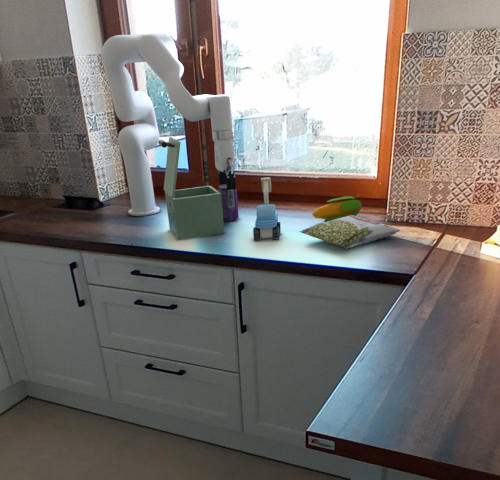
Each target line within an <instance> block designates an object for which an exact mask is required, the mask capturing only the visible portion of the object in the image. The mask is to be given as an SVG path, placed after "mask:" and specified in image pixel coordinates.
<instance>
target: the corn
mask: <svg viewBox="0 0 500 480" xmlns="http://www.w3.org/2000/svg"><path fill="white" fill-rule="evenodd" d="M325 202H326V203H327V204H324V205H322V206H319V207H318V208H316V209H315V210H314V211H313V212H312V214H311V215H312V217H314V218H315V219H319V220H320V219H321V220H324V221H323V223H324V222H328V221H331V220H335V219H338V218H342V217H346V216H351V215H354V216H358V215H359V214H360V212H361V209H362V207H363V206H362V202H361V201H360V200H359V199H357V198H356V197H354V196H340V197H336V198H332V199H329V200H327V201H325Z"/></svg>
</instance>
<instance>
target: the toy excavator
mask: <svg viewBox="0 0 500 480" xmlns="http://www.w3.org/2000/svg"><path fill="white" fill-rule="evenodd" d="M260 182H261V183H260V184H261V192H262V193H263V204H259V205H257V206H256V218H255V224H254V226H255V227H253V229H252V234H253V235H252V236H253V241H260V240H261V239H269V238H272V239H273V240H280V235H281V233H282V232H281V231H282V230H281V229H282V227H281V221H279V214H278V213H276V211H277V210H276V205H275V204H273V203H270V197H269V196H270V195H269V193H272V179H271V177H261V178H260Z"/></svg>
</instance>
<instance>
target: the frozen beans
mask: <svg viewBox="0 0 500 480" xmlns="http://www.w3.org/2000/svg"><path fill="white" fill-rule="evenodd" d="M400 231H401V229H400V228H395V227H393V226H392V225H391V226H390V225H388V224H384V223H381V222H378V221H375V220H371V219H368V218H366V217H362V216H358V215H356V216H354V215H351V216H346V217H342V218H338V219H335V220H331V221H328V222H324V221H323V222H320V223H317V224H314V225H312V226H310V227H308V228H305V229H302V230H300V231H298V232H299V233H302V234H304V235H307V236H309V237H312V238H316V239H317V240H321V241H323V242H327V243H329V244H333V245H335V246H338V247H341V248H345V249H346V250H347V249H351V248H354V247H358V246H361V245H362V246H363V245H365V244H369V243H372V242H375V241H378V240H381V239H385V238H388V237H391V236H393V235H396V234H397V233H399V232H400Z"/></svg>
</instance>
